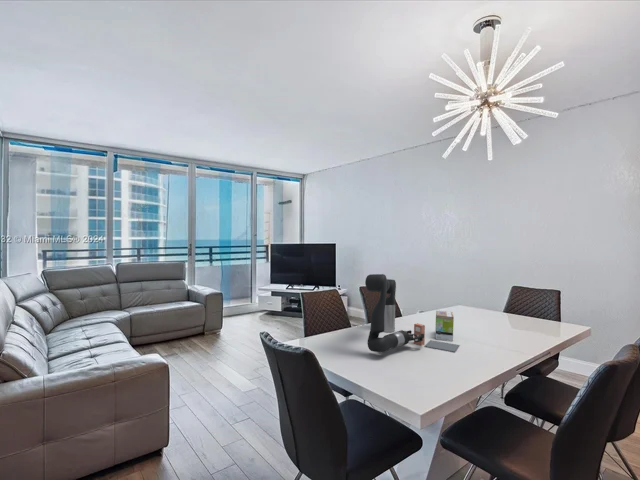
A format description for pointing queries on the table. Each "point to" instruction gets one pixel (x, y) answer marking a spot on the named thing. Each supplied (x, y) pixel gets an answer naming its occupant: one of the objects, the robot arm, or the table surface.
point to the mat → (442, 346)
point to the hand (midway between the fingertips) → (417, 333)
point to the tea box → (444, 325)
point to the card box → (419, 332)
